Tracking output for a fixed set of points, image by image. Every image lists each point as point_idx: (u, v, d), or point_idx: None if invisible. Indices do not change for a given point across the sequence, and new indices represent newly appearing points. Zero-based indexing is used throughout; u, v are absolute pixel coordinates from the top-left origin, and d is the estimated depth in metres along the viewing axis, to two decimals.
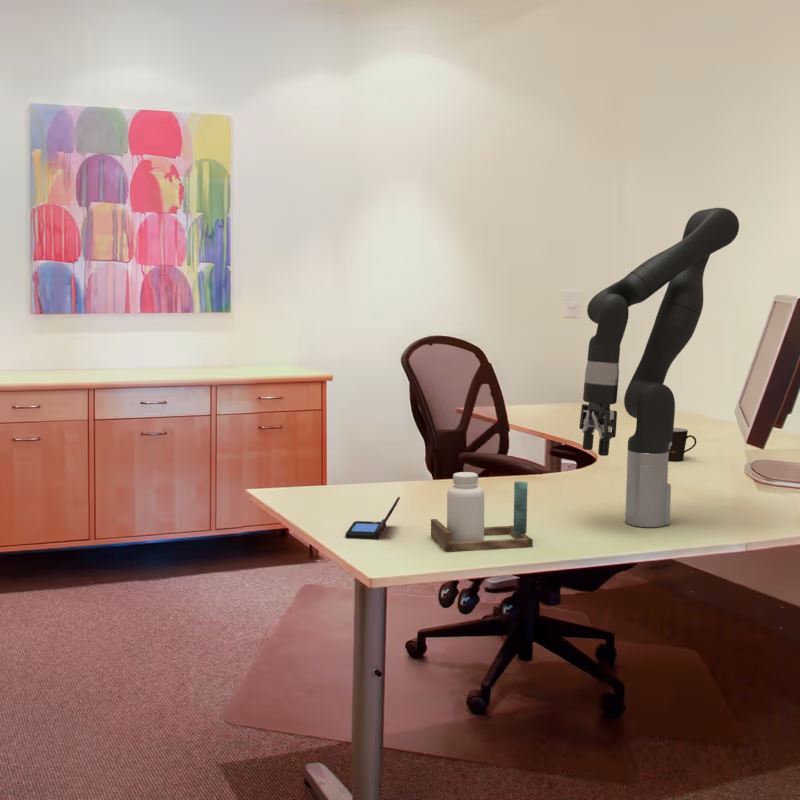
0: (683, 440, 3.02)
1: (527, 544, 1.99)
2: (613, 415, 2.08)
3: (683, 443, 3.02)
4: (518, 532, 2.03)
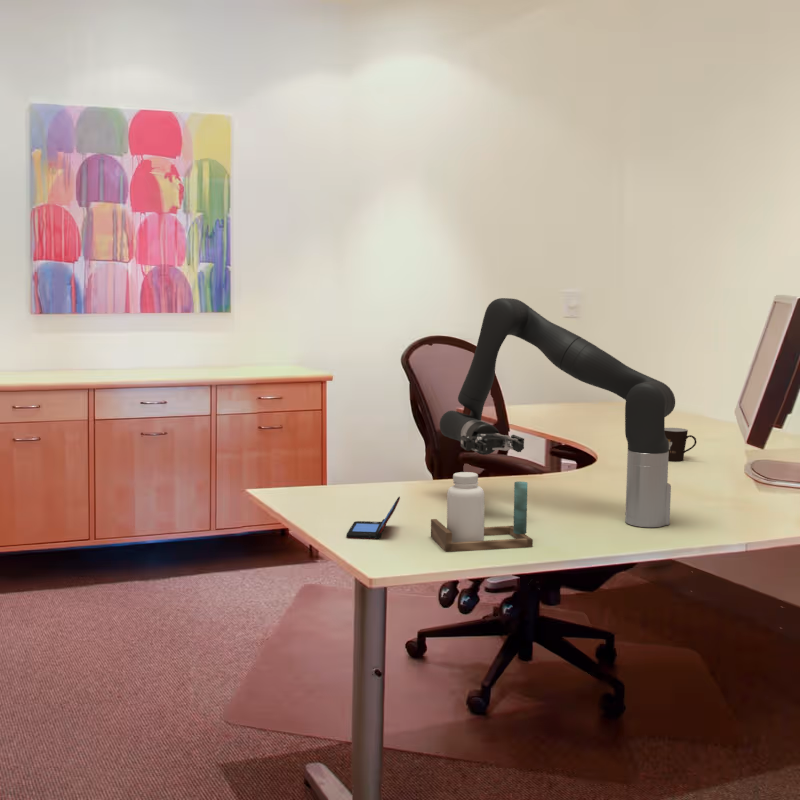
0: (683, 440, 3.02)
1: (527, 544, 1.99)
2: (461, 440, 2.22)
3: (683, 443, 3.02)
4: (518, 532, 2.03)
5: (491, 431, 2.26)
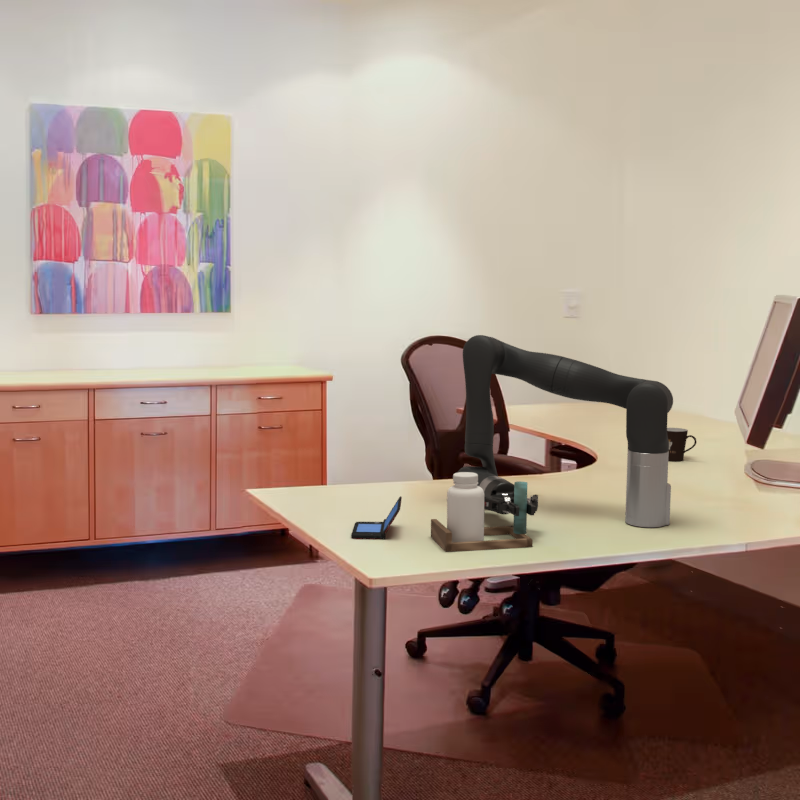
0: (683, 440, 3.02)
1: (527, 544, 1.99)
2: (484, 502, 2.08)
3: (683, 443, 3.02)
4: (518, 532, 2.03)
5: (511, 490, 2.14)
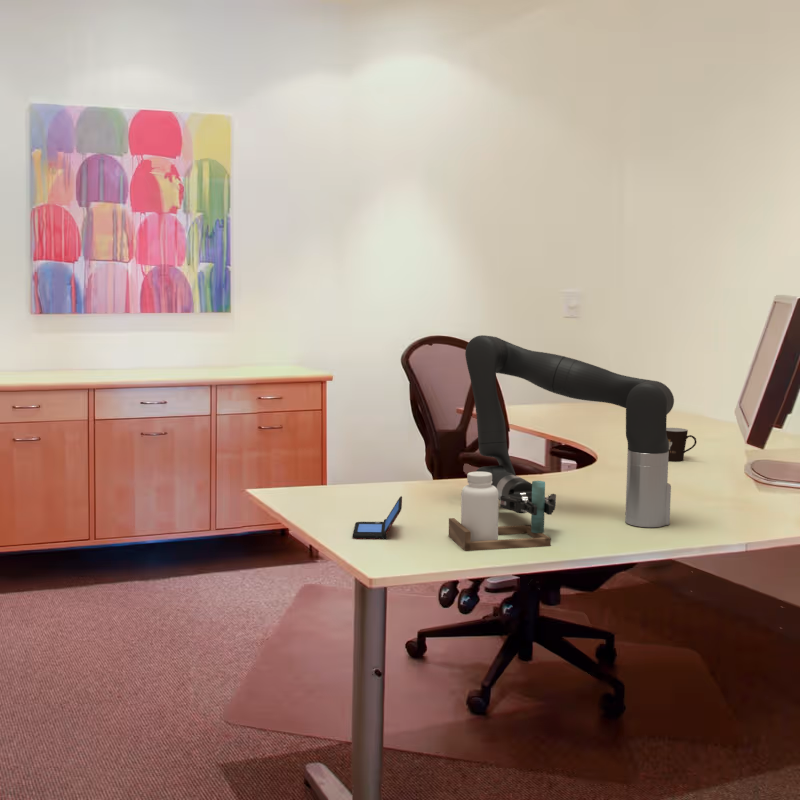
0: (683, 440, 3.02)
1: (545, 543, 2.00)
2: (502, 501, 2.09)
3: (683, 443, 3.02)
4: (536, 531, 2.04)
5: (529, 489, 2.14)
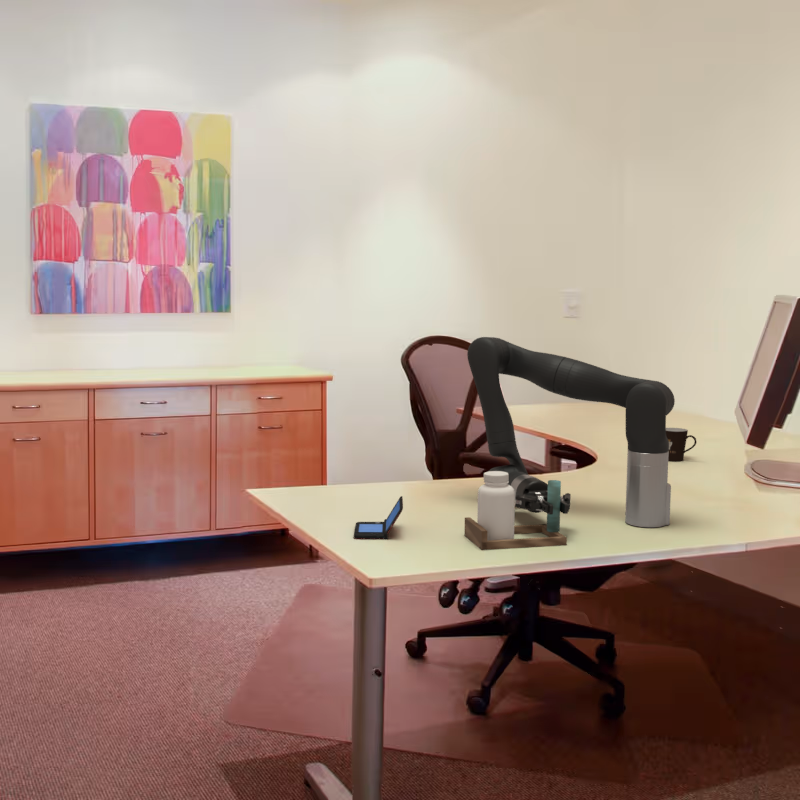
0: (683, 440, 3.02)
1: (561, 542, 2.01)
2: (517, 500, 2.10)
3: (683, 443, 3.02)
4: (551, 530, 2.05)
5: (543, 488, 2.15)
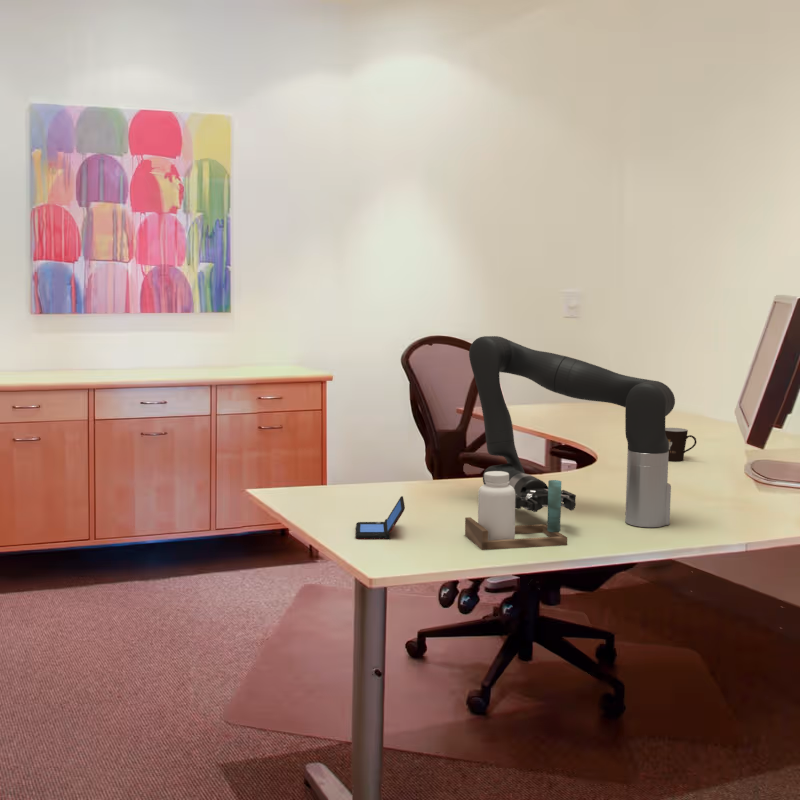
0: (683, 440, 3.02)
1: (562, 542, 2.01)
2: None
3: (683, 443, 3.02)
4: (552, 530, 2.05)
5: (541, 487, 2.17)
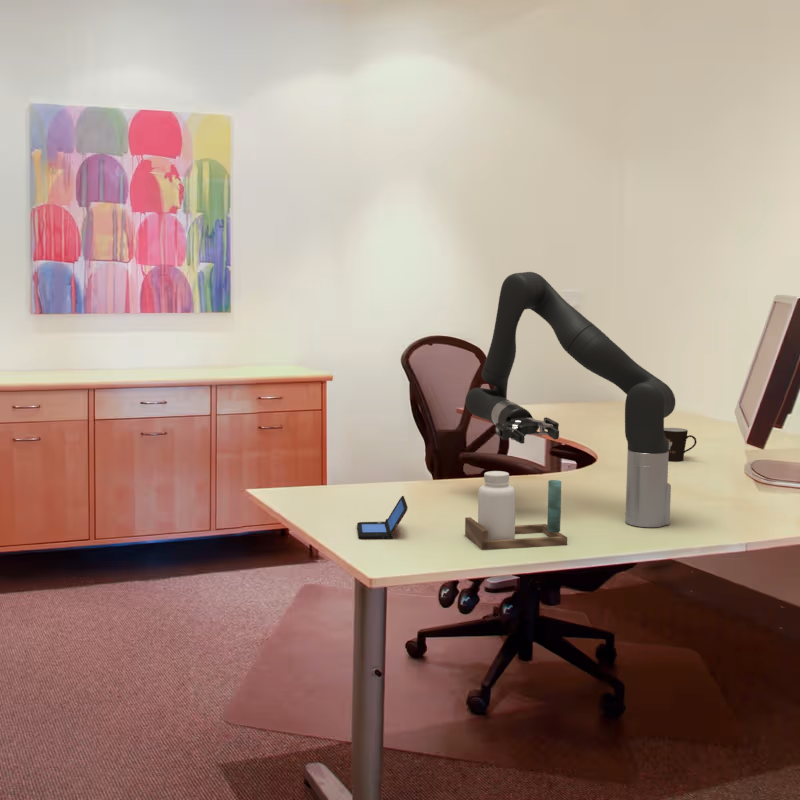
0: (683, 440, 3.02)
1: (562, 542, 2.01)
2: (496, 427, 2.23)
3: (683, 443, 3.02)
4: (552, 530, 2.05)
5: (524, 415, 2.27)
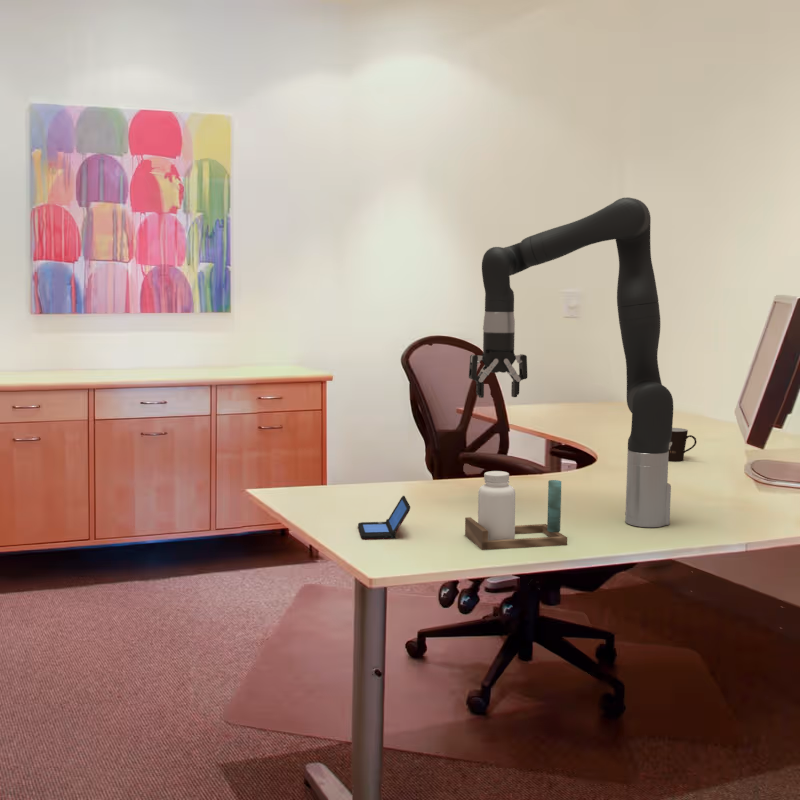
0: (683, 440, 3.02)
1: (562, 542, 2.01)
2: (471, 359, 2.27)
3: (683, 443, 3.02)
4: (552, 530, 2.05)
5: (506, 350, 2.27)
